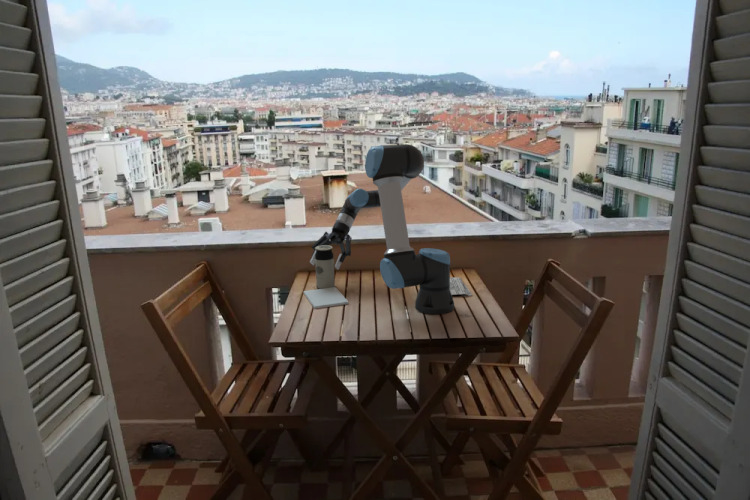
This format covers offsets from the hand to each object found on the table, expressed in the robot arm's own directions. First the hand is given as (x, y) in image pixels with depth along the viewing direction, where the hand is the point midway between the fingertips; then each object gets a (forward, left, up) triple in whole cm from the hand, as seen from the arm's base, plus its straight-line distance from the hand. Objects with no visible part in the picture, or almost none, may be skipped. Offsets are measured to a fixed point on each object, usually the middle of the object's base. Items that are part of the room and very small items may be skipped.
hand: (323, 265), depth 242 cm
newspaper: (-24, -51, -10) cm, 58 cm away
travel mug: (0, 0, -10) cm, 10 cm away
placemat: (-15, +4, -10) cm, 18 cm away
